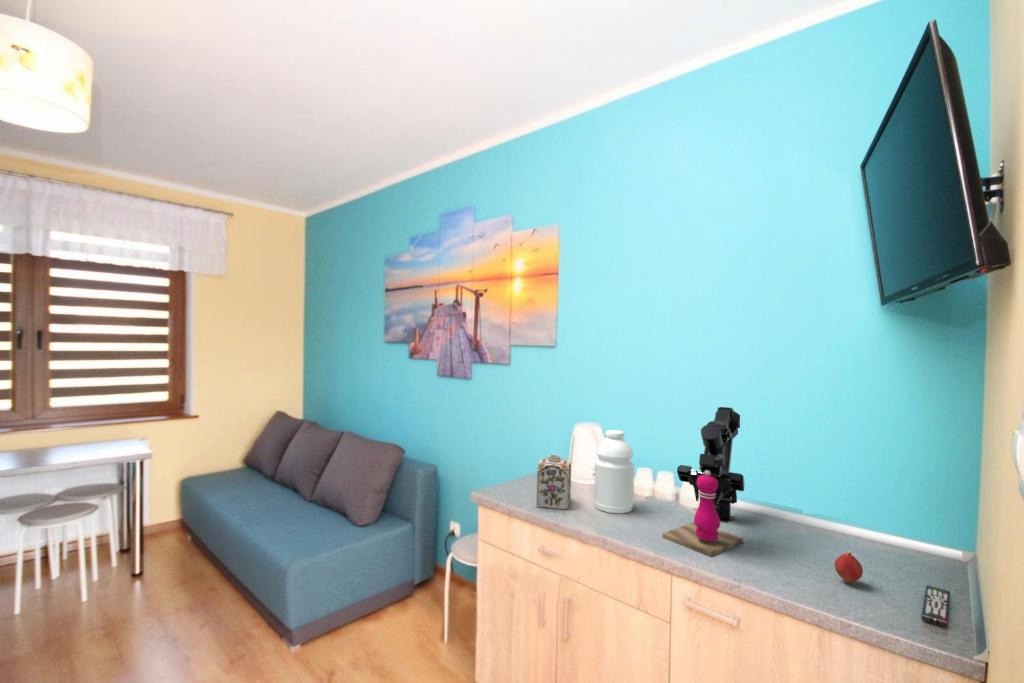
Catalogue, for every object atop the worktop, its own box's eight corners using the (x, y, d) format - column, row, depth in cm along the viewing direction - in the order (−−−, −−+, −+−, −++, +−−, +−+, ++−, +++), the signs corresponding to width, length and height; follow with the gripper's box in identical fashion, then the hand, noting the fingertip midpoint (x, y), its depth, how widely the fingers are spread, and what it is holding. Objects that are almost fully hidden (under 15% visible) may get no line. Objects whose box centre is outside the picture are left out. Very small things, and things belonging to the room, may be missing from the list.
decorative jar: (535, 507, 169) (536, 458, 169) (540, 497, 180) (541, 451, 180) (568, 510, 166) (569, 460, 166) (571, 500, 177) (572, 453, 178)
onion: (828, 577, 120) (829, 546, 120) (849, 576, 121) (849, 546, 121) (846, 589, 114) (847, 556, 114) (868, 588, 115) (868, 556, 115)
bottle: (638, 505, 172) (639, 430, 173) (626, 517, 161) (627, 436, 161) (602, 498, 180) (603, 426, 180) (588, 508, 168) (589, 431, 169)
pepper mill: (724, 537, 138) (724, 470, 138) (713, 544, 133) (714, 474, 133) (700, 529, 144) (701, 465, 144) (689, 536, 139) (690, 469, 139)
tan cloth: (695, 525, 154) (695, 521, 154) (743, 542, 141) (743, 538, 141) (662, 537, 144) (662, 533, 144) (710, 556, 131) (710, 552, 131)
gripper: (678, 439, 147) (669, 482, 138) (743, 447, 137) (738, 494, 128) (684, 458, 154) (675, 501, 144) (746, 467, 143) (741, 514, 134)
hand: (706, 502), depth 137 cm, fingers closed on pepper mill, 5 cm apart
